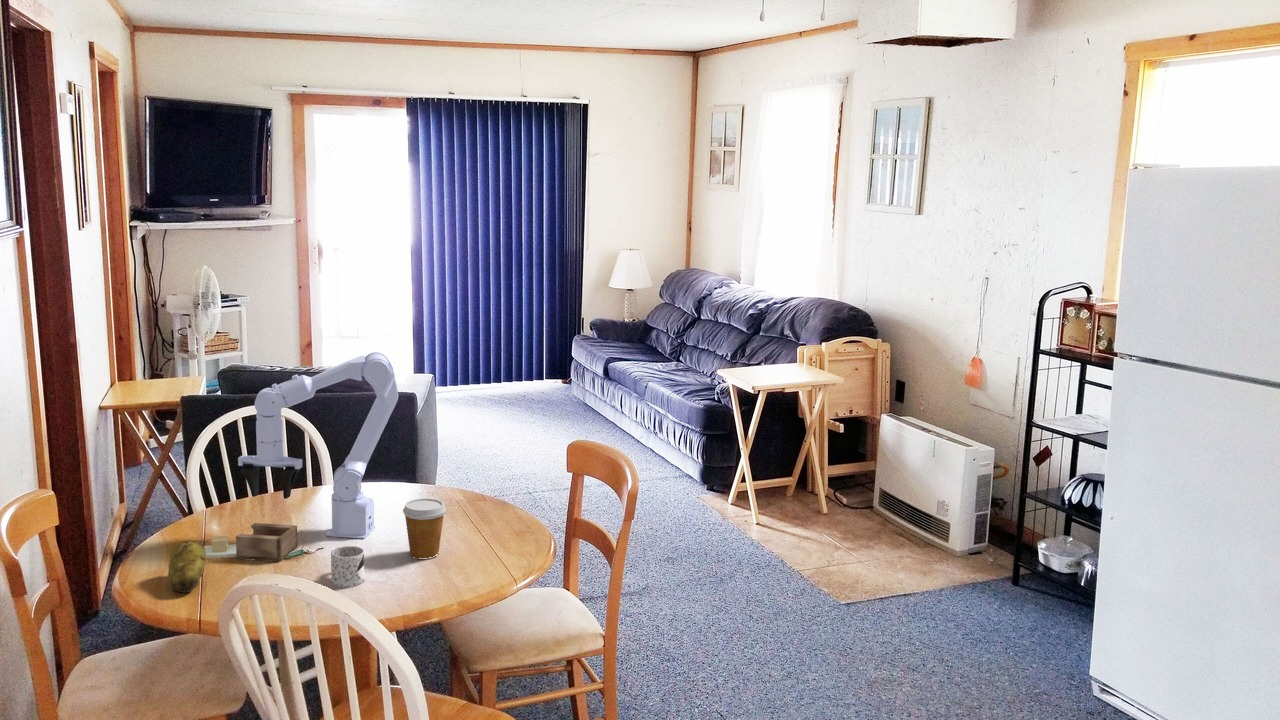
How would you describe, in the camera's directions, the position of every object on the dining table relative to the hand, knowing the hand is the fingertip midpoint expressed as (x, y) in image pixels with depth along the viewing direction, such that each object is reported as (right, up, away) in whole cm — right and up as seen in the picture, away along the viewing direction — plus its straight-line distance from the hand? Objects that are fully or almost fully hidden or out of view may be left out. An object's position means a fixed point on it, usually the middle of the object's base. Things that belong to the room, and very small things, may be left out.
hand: (271, 496), depth 225 cm
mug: (+24, -15, -20) cm, 35 cm away
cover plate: (-8, -12, -9) cm, 17 cm away
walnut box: (+2, -12, -8) cm, 15 cm away
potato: (-7, -15, -27) cm, 31 cm away
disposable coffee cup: (+37, -13, -5) cm, 40 cm away
